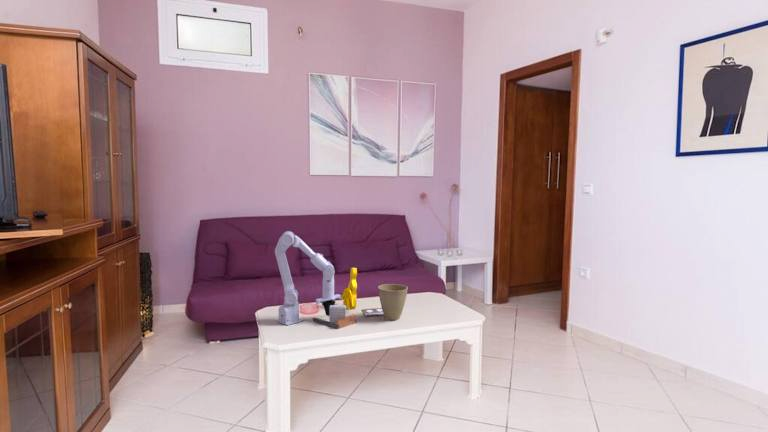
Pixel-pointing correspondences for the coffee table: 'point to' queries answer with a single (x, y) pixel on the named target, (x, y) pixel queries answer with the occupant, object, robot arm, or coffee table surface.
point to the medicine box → (336, 312)
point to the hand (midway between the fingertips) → (328, 315)
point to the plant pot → (392, 300)
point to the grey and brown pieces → (338, 321)
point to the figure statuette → (350, 291)
